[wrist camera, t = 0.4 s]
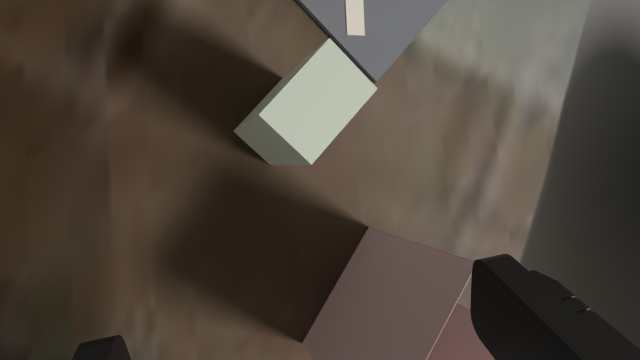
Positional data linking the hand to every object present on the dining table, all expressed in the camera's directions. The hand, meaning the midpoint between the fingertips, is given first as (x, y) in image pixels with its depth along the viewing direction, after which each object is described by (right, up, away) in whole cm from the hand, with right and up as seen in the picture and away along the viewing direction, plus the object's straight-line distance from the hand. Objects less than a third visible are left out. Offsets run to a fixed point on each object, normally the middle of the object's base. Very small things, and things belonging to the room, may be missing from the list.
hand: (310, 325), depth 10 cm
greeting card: (+3, -6, +29) cm, 29 cm away
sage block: (-3, +8, +26) cm, 28 cm away
